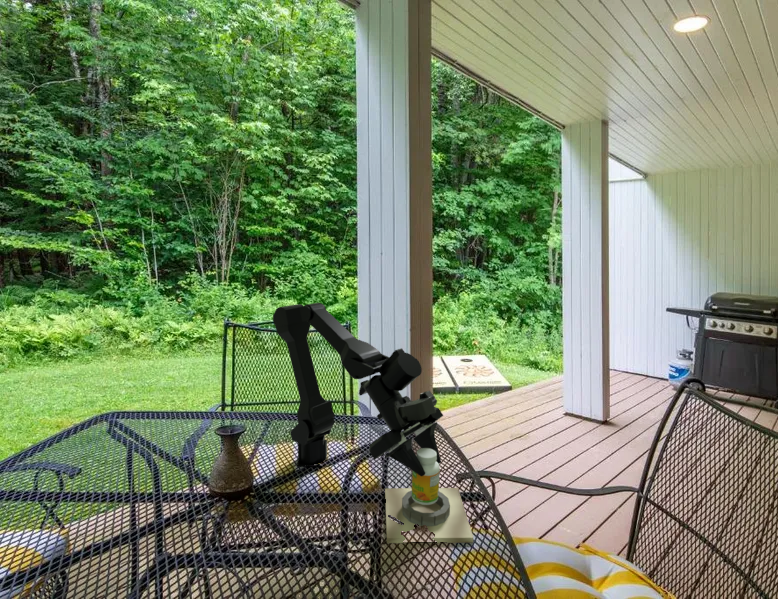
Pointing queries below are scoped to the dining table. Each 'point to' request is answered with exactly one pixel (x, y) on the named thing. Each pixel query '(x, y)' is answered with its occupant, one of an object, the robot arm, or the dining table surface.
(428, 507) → the ring holder
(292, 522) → the dining table surface
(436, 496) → the supplement bottle
